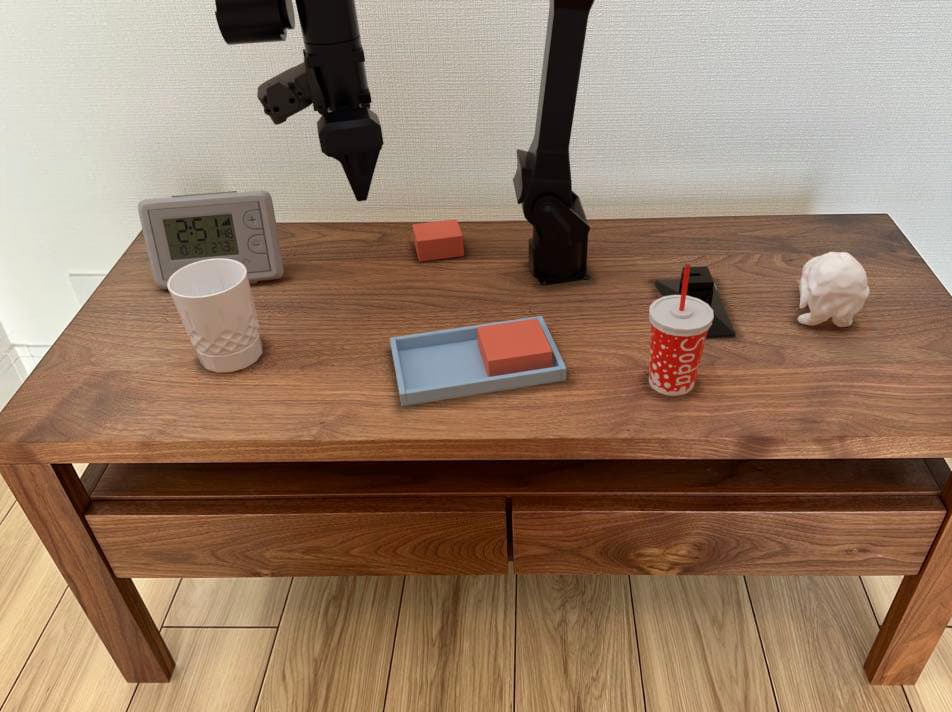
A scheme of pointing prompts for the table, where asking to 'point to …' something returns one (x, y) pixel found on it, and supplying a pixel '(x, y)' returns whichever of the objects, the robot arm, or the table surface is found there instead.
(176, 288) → the white cup
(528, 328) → the pad
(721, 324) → the black stand
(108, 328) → the table surface
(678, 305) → the beverage cup
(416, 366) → the tray
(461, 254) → the loose pad
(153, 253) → the digital clock
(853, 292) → the white lumpy figurine
